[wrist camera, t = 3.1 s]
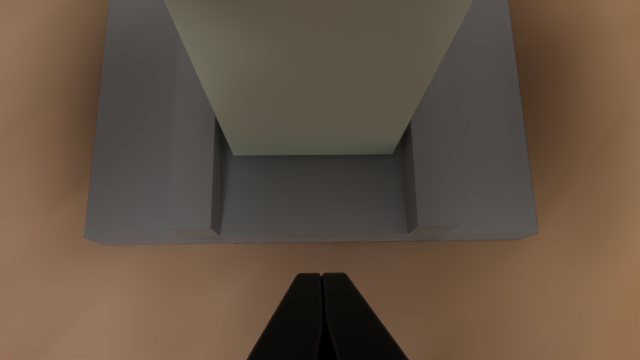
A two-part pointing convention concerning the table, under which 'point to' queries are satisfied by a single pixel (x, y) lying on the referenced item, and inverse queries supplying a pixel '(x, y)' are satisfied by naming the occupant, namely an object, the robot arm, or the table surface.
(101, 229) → the track
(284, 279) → the table surface
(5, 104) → the table surface
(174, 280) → the table surface
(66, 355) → the table surface
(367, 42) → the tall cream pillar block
